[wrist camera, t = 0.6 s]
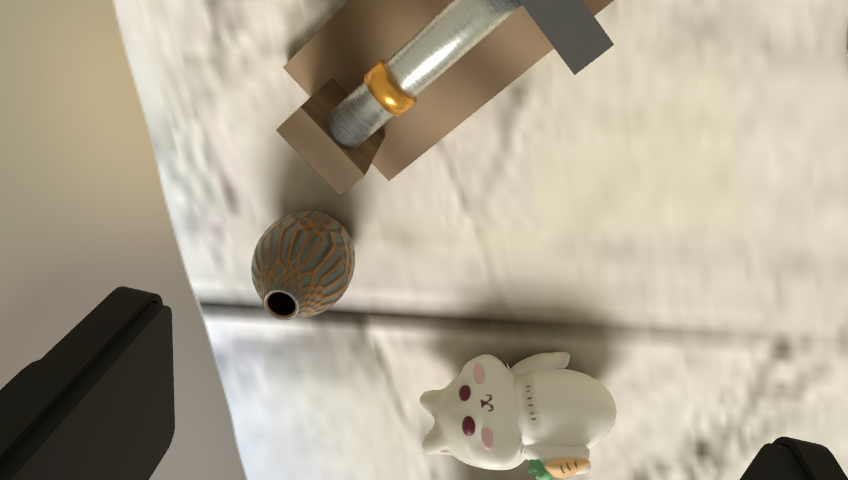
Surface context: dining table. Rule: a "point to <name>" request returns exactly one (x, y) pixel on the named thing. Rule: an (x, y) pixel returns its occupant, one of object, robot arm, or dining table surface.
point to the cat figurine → (520, 415)
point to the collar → (570, 30)
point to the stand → (436, 105)
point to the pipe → (414, 68)
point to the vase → (302, 265)
